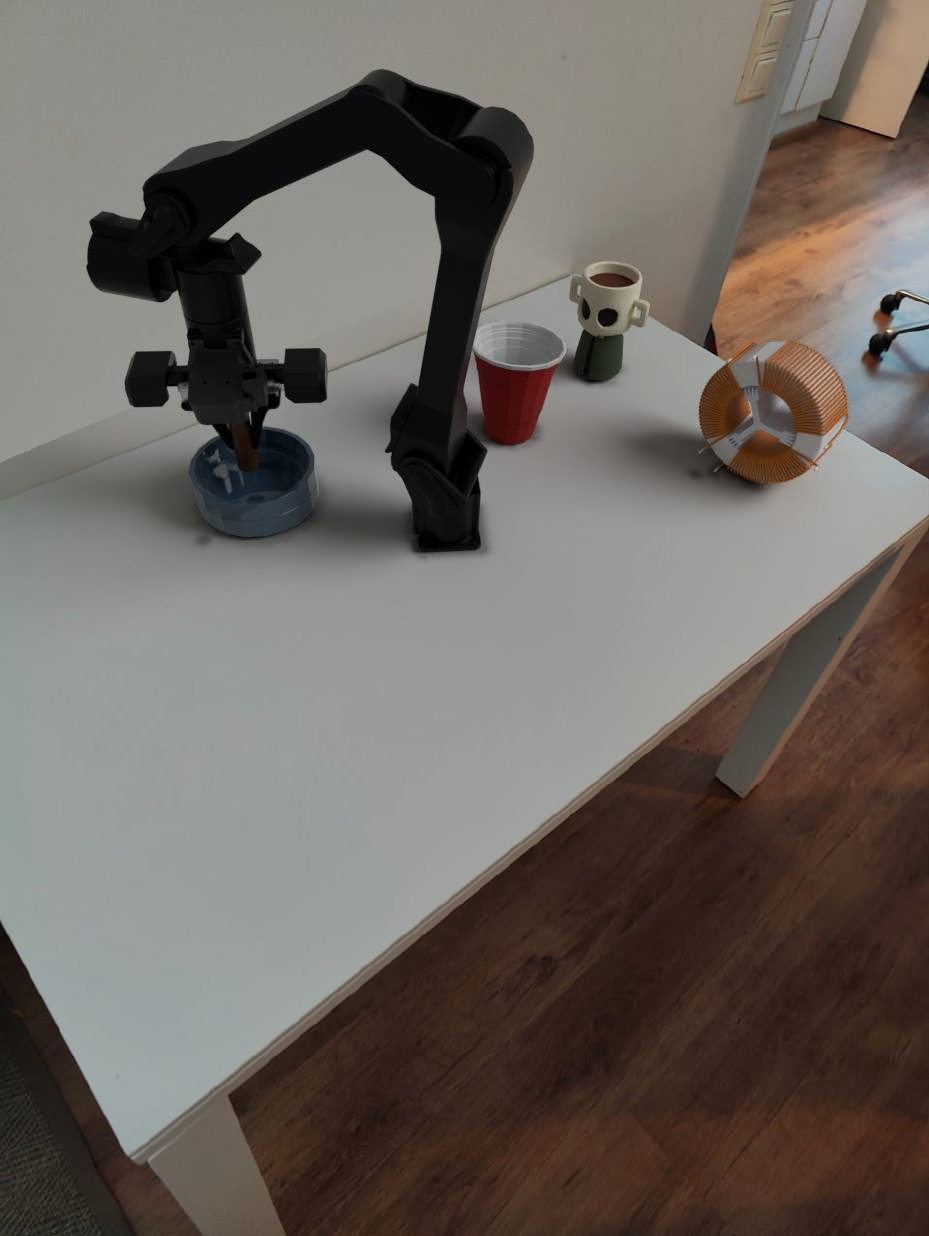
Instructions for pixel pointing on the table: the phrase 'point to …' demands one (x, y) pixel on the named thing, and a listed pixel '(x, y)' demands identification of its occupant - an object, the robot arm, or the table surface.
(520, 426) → the plastic cup
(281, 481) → the bowl
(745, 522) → the table surface
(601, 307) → the character mug
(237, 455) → the brown cylindrical peg
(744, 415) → the coil
